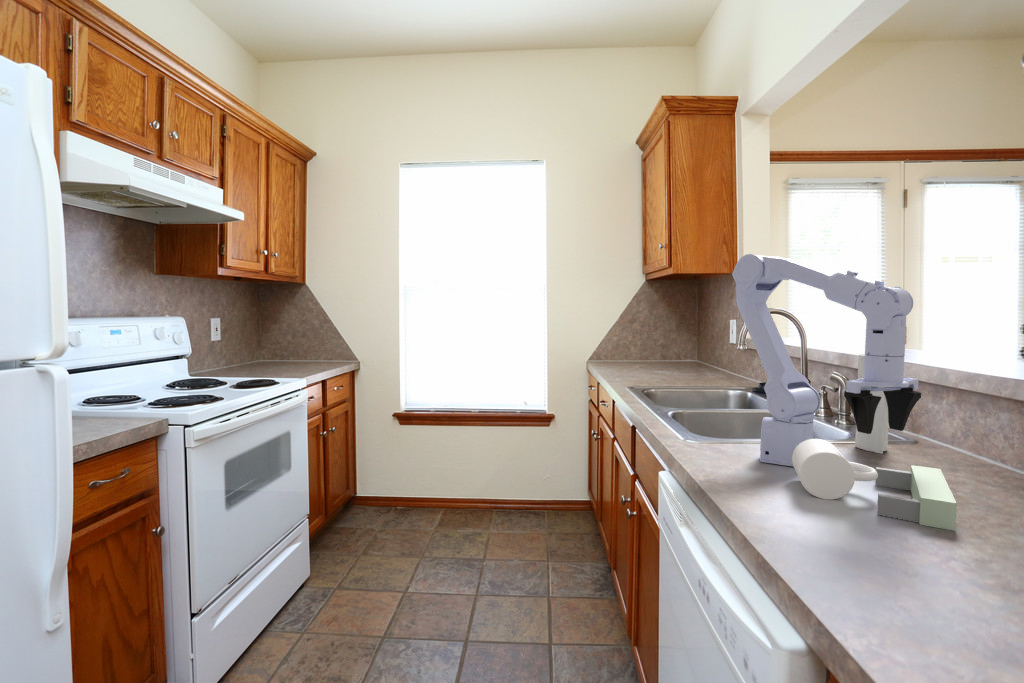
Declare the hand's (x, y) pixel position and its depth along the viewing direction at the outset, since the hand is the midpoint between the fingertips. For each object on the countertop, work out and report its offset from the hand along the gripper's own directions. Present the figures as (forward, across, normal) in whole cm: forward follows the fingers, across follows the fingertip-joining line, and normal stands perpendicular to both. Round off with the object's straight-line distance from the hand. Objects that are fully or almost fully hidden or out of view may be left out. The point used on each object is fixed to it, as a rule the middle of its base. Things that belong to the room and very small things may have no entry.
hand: (880, 431), depth 92 cm
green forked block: (+10, -4, -9) cm, 14 cm away
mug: (+10, -10, 0) cm, 15 cm away
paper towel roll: (+10, +21, +18) cm, 29 cm away
